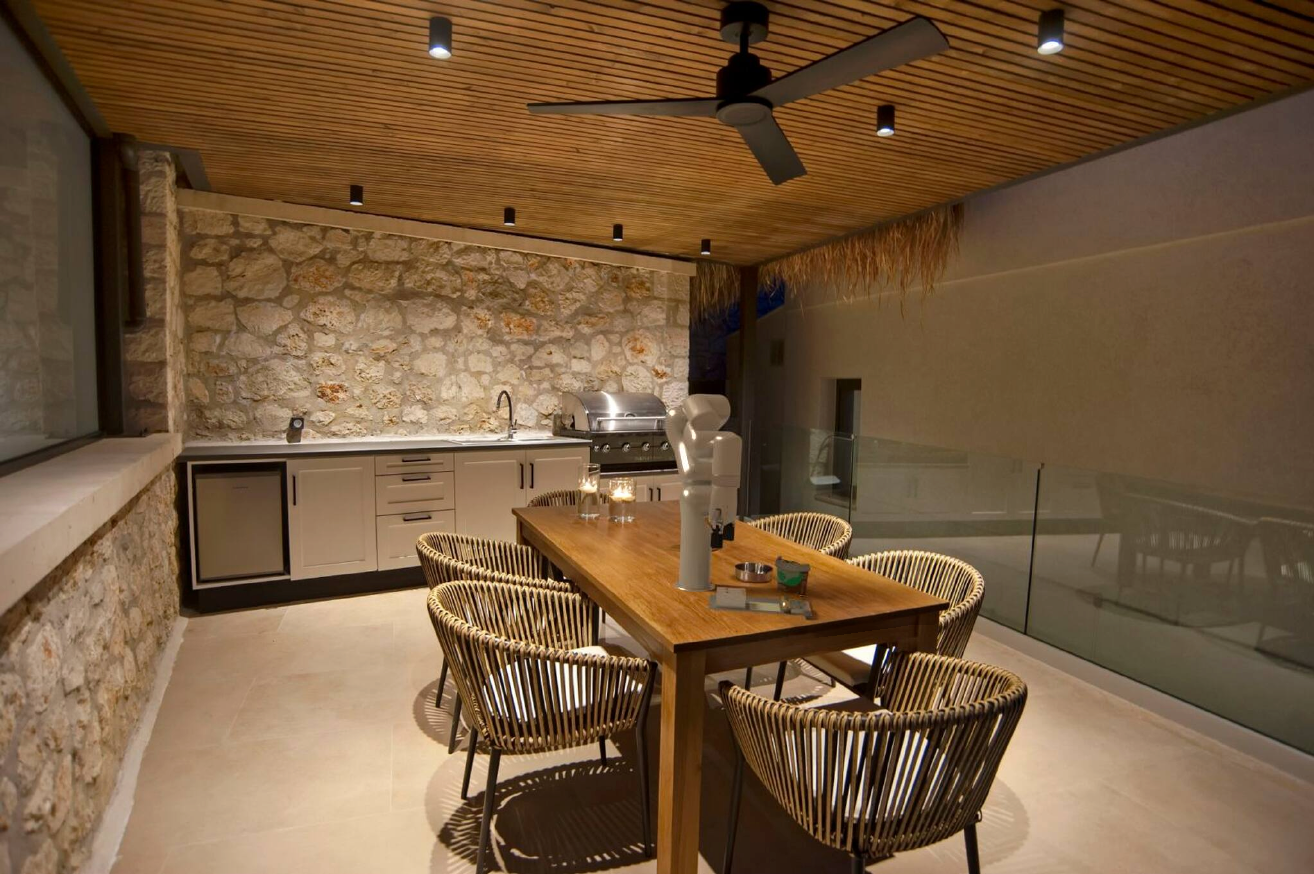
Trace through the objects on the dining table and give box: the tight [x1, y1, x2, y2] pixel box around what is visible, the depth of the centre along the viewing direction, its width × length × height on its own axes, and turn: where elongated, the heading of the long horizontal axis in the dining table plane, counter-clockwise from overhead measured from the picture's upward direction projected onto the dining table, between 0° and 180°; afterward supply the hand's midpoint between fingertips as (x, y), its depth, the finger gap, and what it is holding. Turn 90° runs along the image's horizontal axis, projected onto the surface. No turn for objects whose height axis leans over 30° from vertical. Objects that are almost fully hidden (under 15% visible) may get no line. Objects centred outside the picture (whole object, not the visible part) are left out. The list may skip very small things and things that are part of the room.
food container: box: [774, 555, 811, 597], centre depth 214 cm, size 12×6×10 cm, turn 37°
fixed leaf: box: [780, 595, 812, 615], centre depth 195 cm, size 10×8×2 cm
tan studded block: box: [715, 586, 747, 609], centre depth 197 cm, size 6×8×4 cm
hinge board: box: [707, 593, 813, 621], centre depth 198 cm, size 14×28×1 cm, turn 84°
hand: (722, 544), depth 189 cm, fingers open, 9 cm apart
